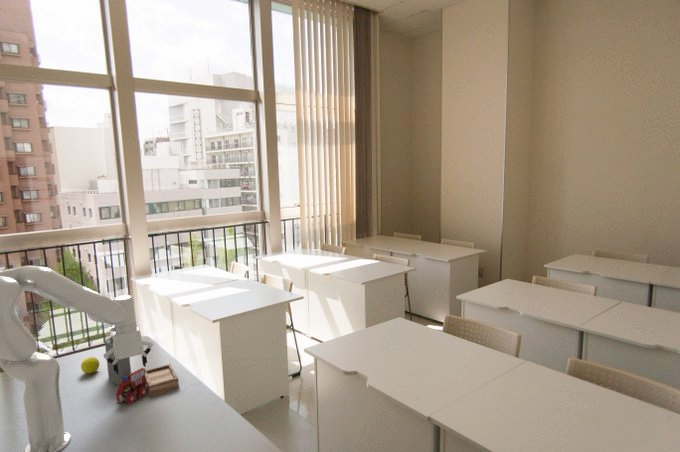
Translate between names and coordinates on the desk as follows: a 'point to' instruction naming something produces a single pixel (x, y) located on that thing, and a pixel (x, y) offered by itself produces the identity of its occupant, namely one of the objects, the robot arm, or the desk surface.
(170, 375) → the wooden tray
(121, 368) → the flask
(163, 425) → the desk surface
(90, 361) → the tennis ball
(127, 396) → the toy fire truck
